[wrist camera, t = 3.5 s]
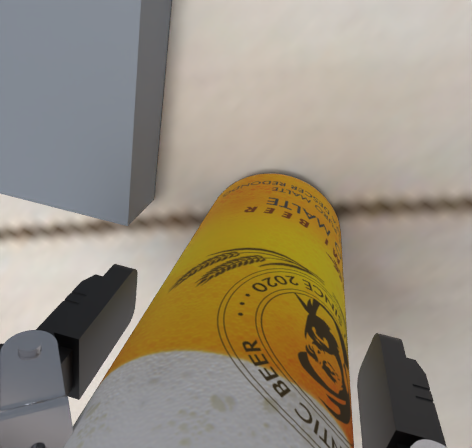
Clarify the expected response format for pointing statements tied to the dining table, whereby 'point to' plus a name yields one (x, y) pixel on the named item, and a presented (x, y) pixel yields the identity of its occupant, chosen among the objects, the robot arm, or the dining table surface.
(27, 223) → the dining table surface
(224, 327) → the beer can
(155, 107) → the stand
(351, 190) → the dining table surface
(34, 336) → the robot arm
